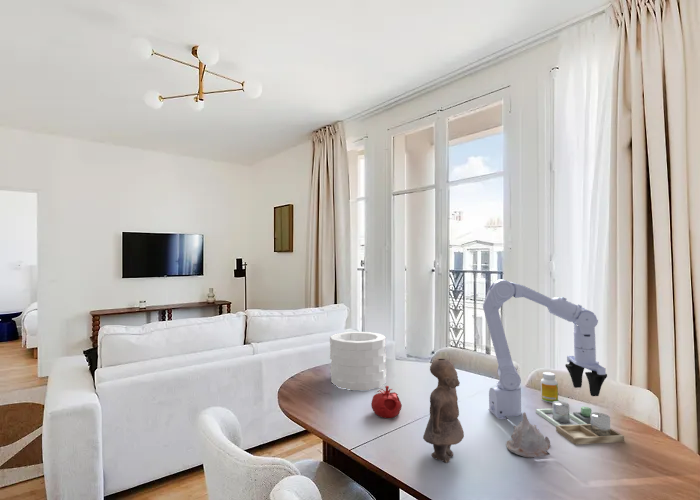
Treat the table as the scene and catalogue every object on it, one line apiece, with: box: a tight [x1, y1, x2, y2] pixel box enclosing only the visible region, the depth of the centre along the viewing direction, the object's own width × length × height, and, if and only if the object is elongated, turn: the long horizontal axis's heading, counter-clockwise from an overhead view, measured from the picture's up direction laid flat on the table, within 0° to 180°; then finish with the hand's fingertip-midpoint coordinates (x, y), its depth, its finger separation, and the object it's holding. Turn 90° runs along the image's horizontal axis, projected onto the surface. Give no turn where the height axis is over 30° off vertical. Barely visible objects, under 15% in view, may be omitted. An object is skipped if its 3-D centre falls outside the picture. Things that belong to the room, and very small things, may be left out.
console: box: [572, 411, 591, 424], centre depth 117 cm, size 5×5×2 cm
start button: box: [580, 406, 593, 417], centre depth 117 cm, size 3×3×2 cm
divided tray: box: [555, 424, 625, 445], centre depth 106 cm, size 14×8×2 cm, turn 94°
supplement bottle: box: [540, 371, 559, 404], centre depth 136 cm, size 5×5×10 cm
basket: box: [329, 331, 387, 391], centre depth 161 cm, size 25×24×19 cm
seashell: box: [505, 412, 551, 459], centre depth 102 cm, size 10×12×9 cm
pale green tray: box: [535, 408, 587, 427], centre depth 117 cm, size 9×13×2 cm
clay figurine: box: [422, 358, 465, 464], centre depth 98 cm, size 13×10×25 cm
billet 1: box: [551, 400, 571, 424], centre depth 117 cm, size 5×5×6 cm
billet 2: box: [590, 412, 611, 436], centre depth 107 cm, size 5×5×6 cm
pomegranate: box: [370, 385, 403, 419], centre depth 125 cm, size 10×10×9 cm
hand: (585, 391), depth 118 cm, fingers open, 7 cm apart
